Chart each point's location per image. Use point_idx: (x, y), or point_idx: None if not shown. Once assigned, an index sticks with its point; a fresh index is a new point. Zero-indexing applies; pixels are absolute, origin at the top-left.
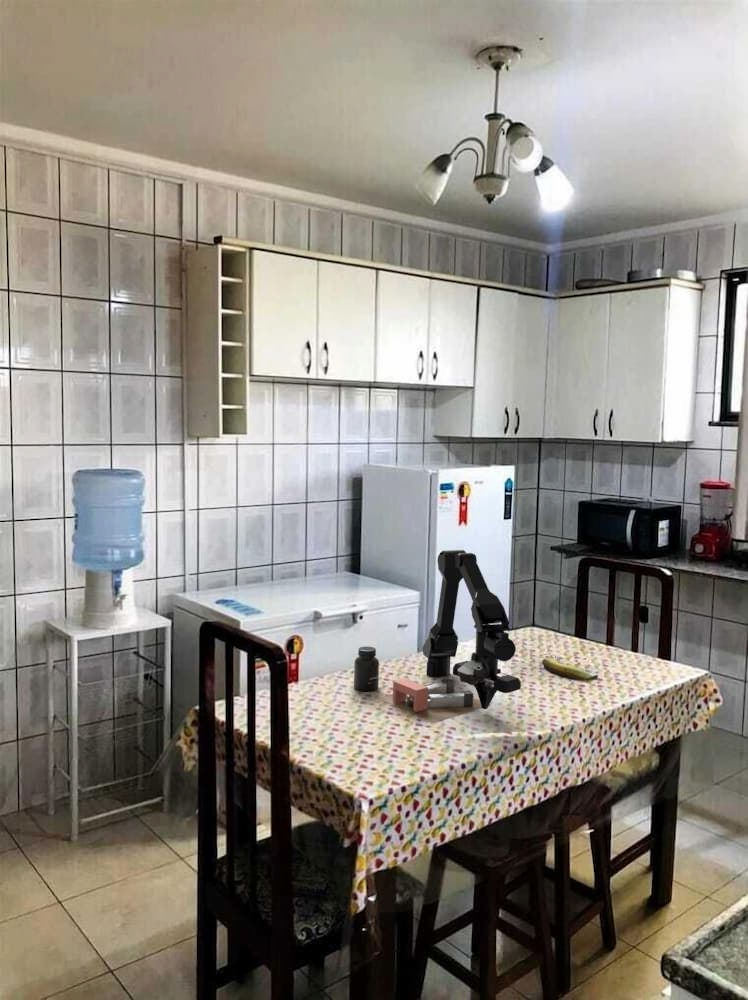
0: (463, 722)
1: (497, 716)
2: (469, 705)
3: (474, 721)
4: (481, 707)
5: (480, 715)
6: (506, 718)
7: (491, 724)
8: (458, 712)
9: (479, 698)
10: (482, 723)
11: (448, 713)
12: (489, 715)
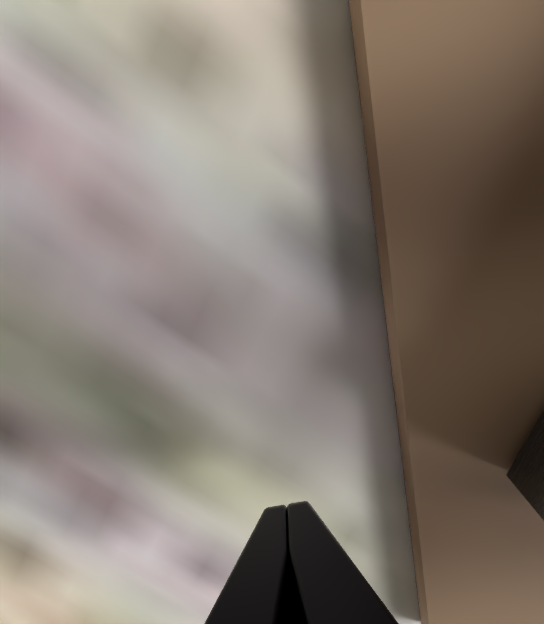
0: (207, 104)
1: (202, 557)
2: (534, 446)
3: (178, 262)
4: (430, 539)
5: (308, 430)
6: (119, 597)
7: (19, 384)
8: (457, 194)
9: (368, 597)
10: (83, 311)
11: (514, 19)
12: (262, 508)
